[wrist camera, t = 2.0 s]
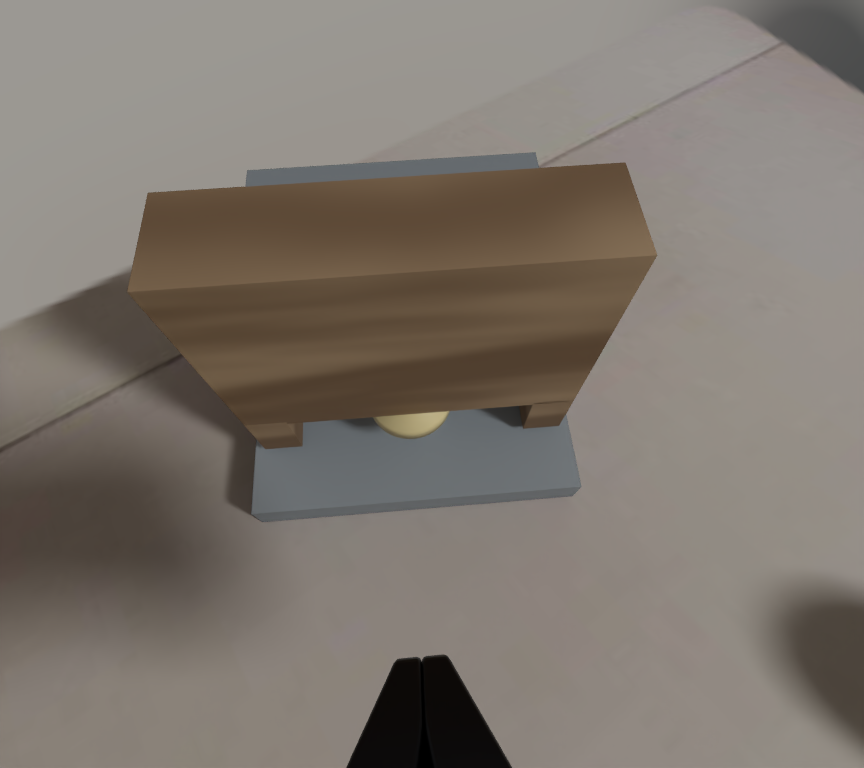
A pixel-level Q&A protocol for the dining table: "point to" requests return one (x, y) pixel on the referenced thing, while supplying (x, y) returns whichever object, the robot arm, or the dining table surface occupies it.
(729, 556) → the dining table surface
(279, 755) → the dining table surface
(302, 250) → the panel
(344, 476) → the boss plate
